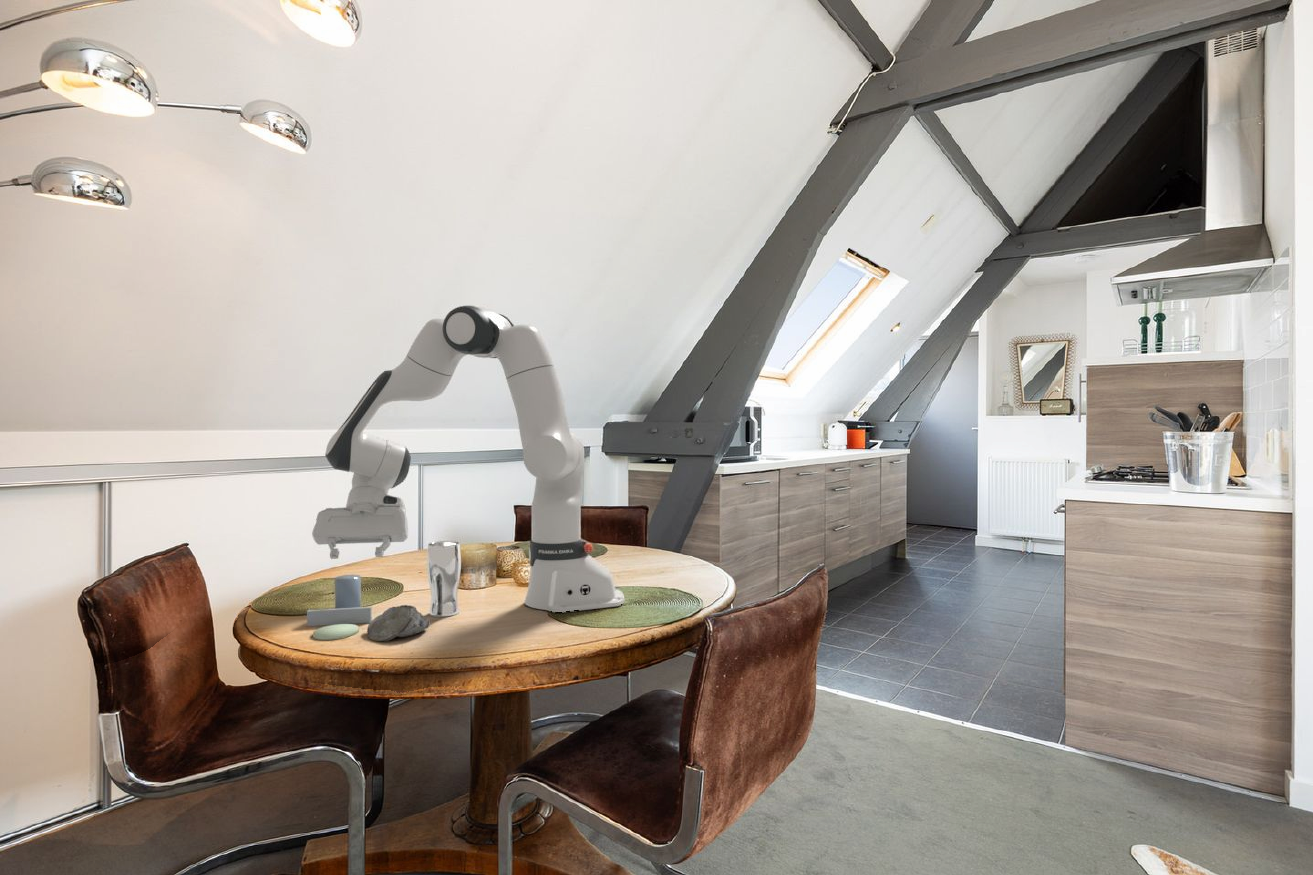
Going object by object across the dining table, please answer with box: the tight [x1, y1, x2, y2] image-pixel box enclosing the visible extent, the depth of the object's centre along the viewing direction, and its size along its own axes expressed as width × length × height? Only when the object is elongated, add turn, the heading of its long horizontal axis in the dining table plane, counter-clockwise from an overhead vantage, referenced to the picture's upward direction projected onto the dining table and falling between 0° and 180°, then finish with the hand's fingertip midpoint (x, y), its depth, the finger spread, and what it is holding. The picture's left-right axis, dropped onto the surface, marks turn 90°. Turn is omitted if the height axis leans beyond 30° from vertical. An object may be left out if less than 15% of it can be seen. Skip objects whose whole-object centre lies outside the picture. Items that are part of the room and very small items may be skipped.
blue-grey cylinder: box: [334, 574, 362, 609], centre depth 140 cm, size 5×5×8 cm
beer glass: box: [426, 540, 462, 618], centre depth 141 cm, size 7×7×15 cm
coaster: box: [312, 624, 360, 641], centre depth 128 cm, size 8×8×1 cm
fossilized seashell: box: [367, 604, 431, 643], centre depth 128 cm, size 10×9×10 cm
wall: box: [306, 606, 373, 627], centre depth 134 cm, size 12×1×3 cm, turn 101°
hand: (356, 556), depth 148 cm, fingers open, 8 cm apart
